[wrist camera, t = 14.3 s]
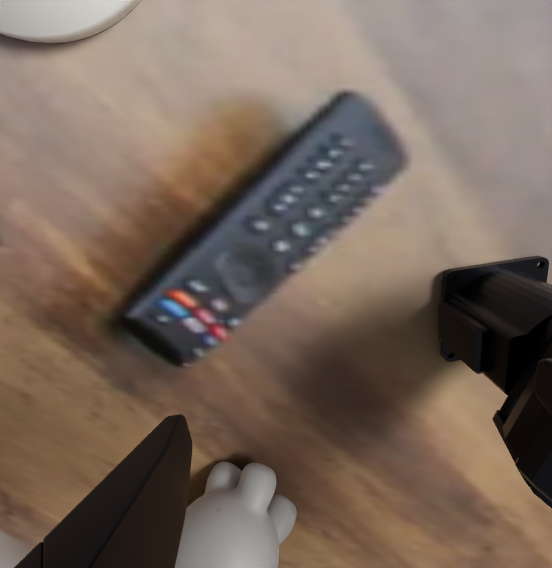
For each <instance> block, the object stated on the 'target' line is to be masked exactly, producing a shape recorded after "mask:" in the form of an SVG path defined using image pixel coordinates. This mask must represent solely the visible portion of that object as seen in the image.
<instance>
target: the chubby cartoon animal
mask: <svg viewBox="0 0 552 568" xmlns="http://www.w3.org/2000/svg"><path fill="white" fill-rule="evenodd" d="M275 488H276V474H275V473H274V471H273V470H272V469H271V468H269V467H268V466H266V465H263V464H260V463H250V464H248V465H246V466H245V468H244V469H243V471H241V470H240V469H239V468H238V467H236V466H235V465H233V464H231V463H229V462H219V463H218V464H216V465H215V466H214V467H213V469H212V471H211V472H210V475H209V477H208V480H207V484H206V488H205V493H204V495H203V496H201V497H199V498H198V499H196V500H195V501H194V502H192V503H191V504H190V505H189V506H188V507H187V508H186V514H185V520H184V525H183V530H182V535H181V540H180V545H179V550H178V555H177V560H176V564H175V568H278V564H279V546H280V544H281V543H282V542H283V541H284V540H285V539H286V538H287V537H288V535H289V534H290V532H291V530H292V529H293V526H294V524H295V521H296V517H297V510H296V507H295V506H294V504H293V503H292V502H291V501H290V500H289V499H288V498H286V497H285V496H283V495H281V494H277V493H274V492H275Z"/></svg>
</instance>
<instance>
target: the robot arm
mask: <svg viewBox="0 0 552 568" xmlns="http://www.w3.org/2000/svg"><path fill="white" fill-rule="evenodd" d="M539 262H540V264H539V266H538V267H537V264H538V263H539ZM548 267H549V261H548V259H546V258H544V257H541V256H534V257H527V258H520V259H514V260H507V261H501V262H494V263H487V264H481V265H474V266H468V267H461V268H454V269H449V270H447V271H446V272H444V274H443V277H442V302H441V304H440V305H439V339H440V340H441V356H442V357H443V358H444V359H445V360H446V361H456V360H462V361H463V362H464V363H465V364H466V365H468V366H469V367H470V368H471V369H472V370H473V371H474V372H476V373H477V374H480V373H483V374H484V375H485V376H487V377H488V378H489V379H490V380H491V381H492V382H493V383H494V384H495V385H496V386H497V387H499V388H500V389H501V390H502V391H503V392H504V393H505V394H506V395H508V397H507V398H506V400H505V402H504V404H503V405H502V407H501V409H500V410H497V411H496V413H495V415H494V417H493V421H494V423H495V425H496V427H497V429H498V431H499V433H500V435H501V437H502V439H503V441H504V443H505V444H506V446H507V448H508V450H509V452H510V454H511V456H512V458H513V460H514V462H515V465H516V467H517V469H518V471H519V472H520V474H521V475H522V477H523V479H524V480H525V482H526V483H527V484H528V486H529V487H530V488H531V490H532V491H533V493H534V494H535V495H536V496H538V497H539V498H541V499H542V500H543V501H544V502H545V503H546V504H547V505H548V506H550V507H551V508H552V285H551V284H548V283H546V282H547V275H548ZM452 275H454V278H453V279H452V280H449V279H450V277H451V276H452ZM449 352H451V354H449V355H448V353H449ZM191 458H192V439H191V436H190V432H189V429H188V425H187V422H186V418H185V417H184V415H182V414H180V415H173V416H168V417H166V418H165V419H164V420H163V421H162V422H161V423H160V424H159V425H158V426H157V427H156V428H155V429H154V430H153V431H152V432H151V433H150V434H149V435H148V436H147V437H146V438H145V439H144V440H143V441H142V442H141V443H140V444H139V445H138V446H137V447H136V448H135V449H134V450H133V451H132V452H131V453H130V454H129V455H128V456H127V457H126V458H125V459H124V460H123V461H122V462H120V463H119V464H118V465H117V466H116V467H115V468H114V469H113V470H112V471H111V472H110V473H109V474H108V475H107V476H106V477H105V478H104V479H103V480H102V481H101V482H100V483H99V484H98V485H97V486H96V487H95V488H94V489H93V490H92V491H91V492H90V493H89V494H88V495H87V496H86V497H85V498H84V499H83V500H82V501H81V502H80V503H79V504H78V505H77V506H76V507H75V508H74V509H73V510H72V511H71V512H70V513H69V514H68V515H67V516H66V517H65V518H64V519H63V520H62V521H61V522H60V523H59V524H58V525H57V526H56V527H55V528H54V529H53V530H52V531H51V532H50V533H49V534H48V535H47V536H46V537H45V538H44V540H43V542H40V543H39V544H38V545H37V546H36V547H35V548H34V549H33V550H32V551H31V552H30V553H29V554H28V555H27V556H26V557H25V558H24V559H23V560H21V561H20V563H18V564H17V565H16V567H14V568H175V564H176V560H177V555H178V550H179V545H180V540H181V535H182V530H183V525H184V520H185V514H186V507H187V498H188V488H189V478H190V468H191Z"/></svg>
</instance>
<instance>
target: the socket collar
mask: <svg viewBox="0 0 552 568" xmlns="http://www.w3.org/2000/svg"><path fill="white" fill-rule="evenodd" d="M140 1H141V0H0V34H3V35H6V36H9V37H12V38H16V39H21V40H25V41H30V42H40V43H61V42H71V41H75V40H79V39H84V38H87V37H90V36H92V35H95V34H97V33H100V32H102V31H104V30H106V29H107V28H109V27H111V26H112V25H114V24H115V23H117V22H119V21H120V20H121V19H122V18H124V17H125V16H126V15H127V14H128V13H129V12H130V11H132V10H133V9H134V8H135V7H136V5H137V4H138V3H139V2H140Z"/></svg>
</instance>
